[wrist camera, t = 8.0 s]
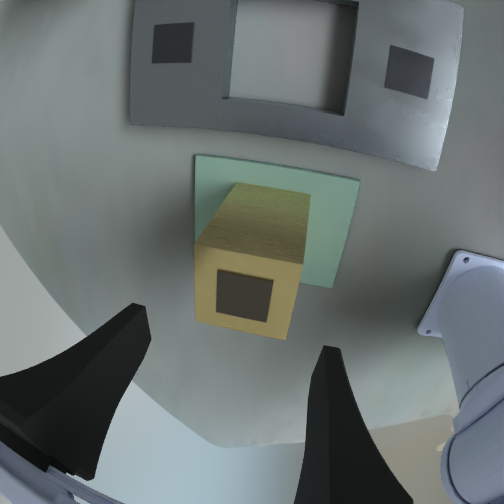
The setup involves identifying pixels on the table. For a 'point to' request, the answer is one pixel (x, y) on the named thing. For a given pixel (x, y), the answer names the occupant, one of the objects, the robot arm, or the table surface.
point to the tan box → (252, 260)
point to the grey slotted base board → (294, 116)
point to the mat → (294, 179)
